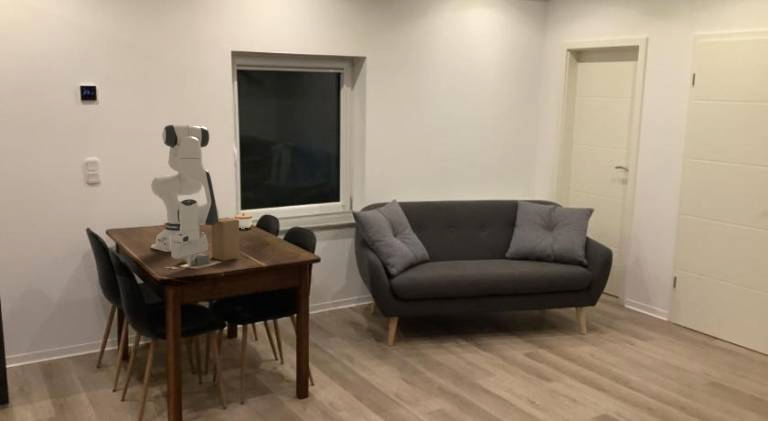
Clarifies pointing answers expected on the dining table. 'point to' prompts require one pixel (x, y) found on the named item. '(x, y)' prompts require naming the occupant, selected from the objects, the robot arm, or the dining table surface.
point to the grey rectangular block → (201, 260)
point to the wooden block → (225, 239)
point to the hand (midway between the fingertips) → (190, 264)
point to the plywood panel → (202, 265)
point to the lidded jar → (244, 220)
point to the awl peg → (183, 260)
